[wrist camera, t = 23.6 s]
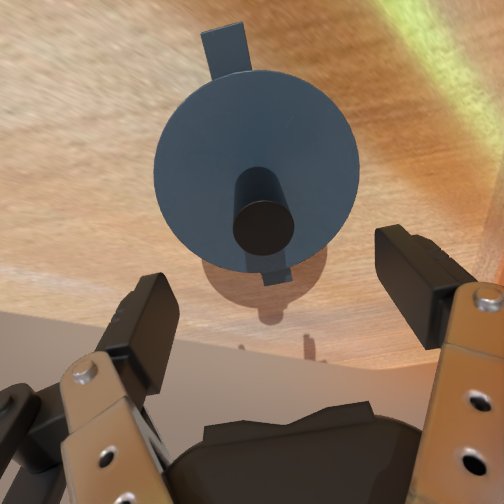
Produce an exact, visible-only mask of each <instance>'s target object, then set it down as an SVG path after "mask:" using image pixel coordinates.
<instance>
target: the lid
mask: <svg viewBox="0 0 504 504" xmlns="http://www.w3.org/2000/svg"><path fill="white" fill-rule="evenodd" d="M359 170H360V165H359V155H358V149H357V145H356V141H355V138H354V135H353V133H352V131H351V128H350V126H349V124H348V122H347V121H346V119H345V117H344V115H343V114H342V112H341V111H340V110H339V109H338V107H337V106H336V105H335V104H334V102H333V101H332V100H331V99H329V98H328V97H327V96H326V95H325V94H324V93H323V92H322V91H320V90H319V89H317V88H316V87H314V86H313V85H311V84H310V83H308V82H306V81H304V80H302V79H299V78H297V77H295V76H292V75H288V74H285V73H281V72H276V71H268V70H247V71H241V72H236V73H231V74H228V75H225V76H222V77H220V78H217V79H215V80H213V81H211V82H209V83H207V84H205V85H203V86H202V87H200V88H199V89H198V90H196V91H195V92H194V93H192V94H191V95H190V96H189V97H188V98H187V99H185V100H184V101H183V102H182V103H181V104H180V105H179V107H178V108H177V109H176V111H175V112H174V113H173V115H172V116H171V117H170V119H169V120H168V122H167V124H166V126H165V128H164V130H163V132H162V134H161V137H160V140H159V142H158V145H157V150H156V154H155V159H154V172H153V174H154V187H155V192H156V197H157V201H158V204H159V207H160V210H161V212H162V214H163V216H164V218H165V220H166V223H167V224H168V226H169V227H170V229H171V230H172V232H173V233H174V234H175V235H176V237H177V238H178V239H179V240H180V241H181V242H182V243H183V244H184V245H185V246H186V247H187V248H188V249H189V250H190V251H192V252H193V253H194V254H196V255H197V256H199V257H200V258H202V259H204V260H206V261H207V262H209V263H211V264H214V265H216V266H219V267H221V268H225V269H228V270H232V271H238V272H245V273H265V272H272V271H277V270H281V269H285V268H288V267H291V266H293V265H296V264H298V263H300V262H302V261H304V260H306V259H308V258H310V257H311V256H313V255H314V254H316V253H317V252H318V251H320V250H321V249H322V248H323V247H324V246H326V245H327V244H328V243H329V242H330V241H331V240H332V239H333V238H334V237H335V235H336V234H337V233H338V231H339V230H340V229H341V227H342V226H343V224H344V223H345V221H346V219H347V217H348V216H349V213H350V211H351V209H352V207H353V204H354V201H355V198H356V194H357V190H358V184H359Z"/></svg>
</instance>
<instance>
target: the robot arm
mask: <svg viewBox="0 0 504 504" xmlns="http://www.w3.org/2000/svg"><path fill="white" fill-rule="evenodd" d="M375 269H376V273H377V276H378V278H379V280H380V282H381V284H382V285H383V287H384V288H385V290H386V291H387V293H388V294H389V296H390V297H391V299H392V300H393V302H394V303H395V305H396V306H397V308H398V309H399V311H400V312H401V314H402V315H403V317H404V318H405V320H406V321H407V323H408V324H409V326H410V327H411V329H412V330H413V332H414V333H415V335H416V336H417V338H418V339H419V341H420V342H421V344H422V345H423V347H424V348H425V350H430V349H436V348H440V349H441V352H440V356H439V361H438V365H437V370H436V374H435V378H434V383H433V388H432V392H431V396H430V400H429V405H428V410H427V414H426V418H425V422H424V427H423V431H421V430H420V429H418V428H416V427H414V426H412V425H410V424H407V423H405V422H403V421H400V420H397V419H394V418H390V417H386V416H381V415H374V413H373V411H372V408H371V405H370V403H369V401H365V402H358V403H352V404H345V405H340V406H332V407H327V408H324V409H322V410H320V411H318V412H315V413H313V414H311V415H308V416H306V417H304V418H302V419H299V420H297V421H295V422H293V423H290V424H287V425H278V424H270V423H262V422H253V421H245V420H242V421H235V422H229V423H223V424H216V425H209V426H205V427H204V435H203V441H201V442H199V443H197V444H196V445H194V446H192V447H191V448H189V449H188V450H187V451H185V452H184V453H183V454H181V455H180V456H179V457H178V458H177V459H175V460H173V458H172V457H171V455H170V453H169V451H168V450H167V448H166V446H165V444H164V442H163V440H162V438H161V436H160V434H159V432H158V430H157V428H156V427H155V425H154V423H153V421H152V419H151V417H150V415H149V413H148V411H147V409H146V408H145V406H144V405H143V404H144V401H145V398H146V396H148V395H154V394H159V393H160V390H161V386H162V382H163V379H164V375H165V371H166V367H167V363H168V359H169V356H170V351H171V348H172V344H173V340H174V336H175V333H176V329H177V325H178V321H179V316H180V312H179V306H178V302H177V300H176V298H175V296H174V294H173V292H172V289H171V287H170V285H169V283H168V281H167V279H166V277H165V275H164V274H163V273H161V272H160V273H155V274H150V275H146V276H142V277H141V278H140V280H139V282H138V284H137V286H136V288H135V290H134V291H131V292H130V293H129V294H128V295H127V296H126V297H125V298H124V299H123V300H122V301H121V302H120V304H119V306H118V308H117V310H116V314H114V315H113V317H112V319H111V322H110V323H109V325H108V327H107V329H106V330H105V332H104V334H103V336H102V338H101V340H100V342H99V343H98V345H97V347H96V349H95V351H94V352H92V353H89V354H87V355H85V356H83V357H81V358H79V359H78V360H77V361H75V362H74V363H73V364H72V365H71V366H70V367H69V368H68V369H67V370H66V371H65V373H64V374H63V376H62V378H61V380H60V382H59V383H56V384H54V385H52V386H50V387H47V388H45V389H43V390H40V391H38V392H35V391H34V390H33V389H32V388H31V387H30V386H29V385H28V384H25V383H19V384H15V385H12V386H10V387H8V388H6V389H4V390H2V391H0V479H1V477H2V475H3V473H4V471H5V469H6V468H7V466H8V464H9V463H10V461H11V459H13V460H14V461H15V462H17V463H18V464H19V465H21V467H20V470H19V471H18V473H17V475H16V477H15V479H14V481H13V483H12V485H11V487H10V489H9V490H8V492H7V494H6V496H5V498H4V500H3V502H2V504H60V501H61V498H62V496H63V493H64V490H65V488H66V485H67V488H68V493H69V499H70V504H504V286H501V285H498V284H494V283H489V282H478V281H477V280H476V279H475V278H474V277H473V276H472V275H471V274H469V273H468V272H467V271H466V270H465V269H464V268H463V267H461V266H460V265H459V264H458V263H457V262H456V261H455V260H453V259H452V258H449V255H448V254H447V253H445V252H444V251H443V250H441V248H440V247H439V246H437V245H436V244H435V243H434V242H433V241H432V240H430V239H427V238H425V237H422V236H420V235H412V236H411V235H410V234H409V233H408V232H407V231H406V230H405V229H404V228H403V227H402V226H401V225H399V224H396V225H391V226H386V227H382V228H377V229H376V230H375Z"/></svg>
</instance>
